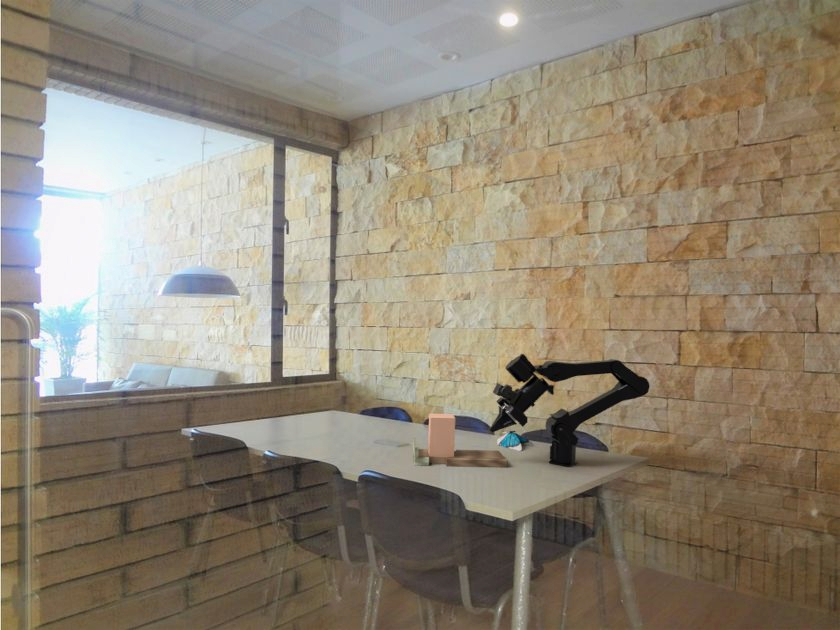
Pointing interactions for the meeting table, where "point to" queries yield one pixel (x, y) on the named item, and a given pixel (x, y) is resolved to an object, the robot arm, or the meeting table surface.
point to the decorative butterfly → (513, 441)
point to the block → (441, 435)
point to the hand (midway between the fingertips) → (490, 431)
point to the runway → (460, 458)
